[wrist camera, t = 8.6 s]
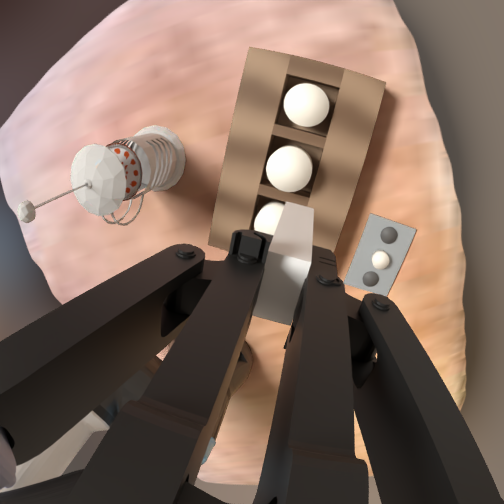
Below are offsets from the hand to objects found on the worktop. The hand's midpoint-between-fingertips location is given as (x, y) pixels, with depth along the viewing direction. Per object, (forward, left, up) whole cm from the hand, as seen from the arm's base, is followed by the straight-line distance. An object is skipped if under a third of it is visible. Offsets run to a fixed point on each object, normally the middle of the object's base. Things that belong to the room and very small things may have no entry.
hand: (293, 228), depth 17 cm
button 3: (+7, +2, -24) cm, 25 cm away
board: (-1, +2, -25) cm, 25 cm away
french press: (-6, +21, -25) cm, 33 cm away
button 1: (-8, +2, -24) cm, 25 cm away
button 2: (-1, +2, -22) cm, 22 cm away
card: (-10, -13, -25) cm, 30 cm away
